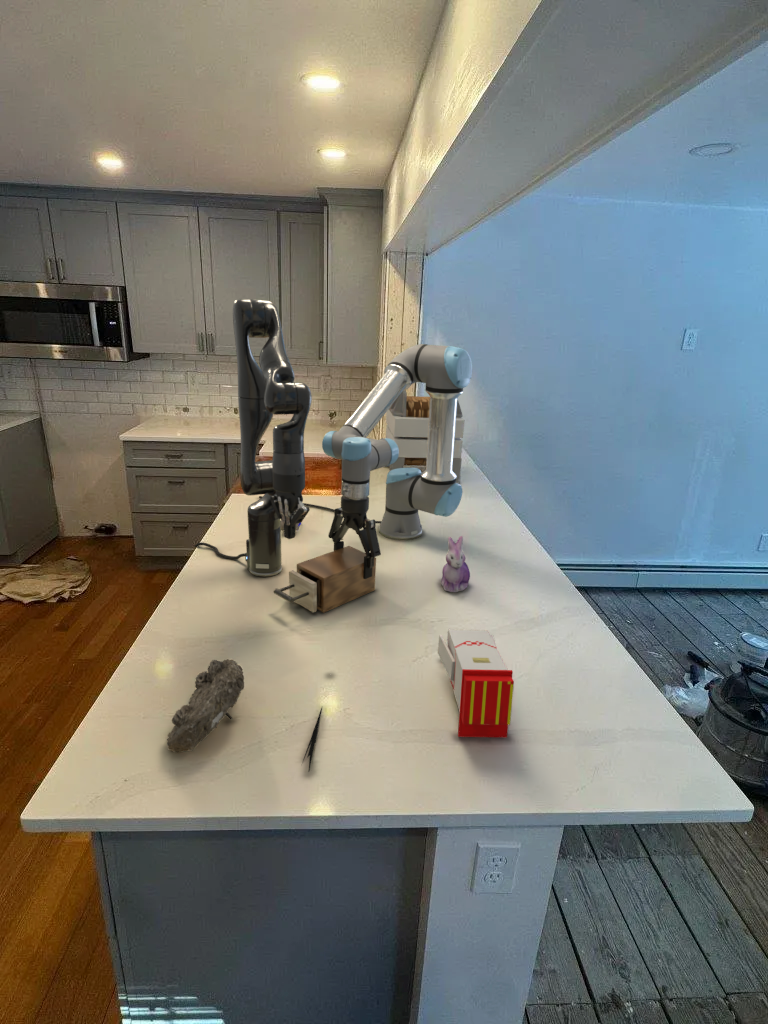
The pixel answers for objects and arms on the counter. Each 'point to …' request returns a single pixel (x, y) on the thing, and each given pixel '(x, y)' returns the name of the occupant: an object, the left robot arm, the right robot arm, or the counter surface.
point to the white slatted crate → (417, 432)
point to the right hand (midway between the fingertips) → (352, 570)
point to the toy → (478, 682)
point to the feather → (313, 740)
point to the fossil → (206, 705)
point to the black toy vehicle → (283, 525)
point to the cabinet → (340, 576)
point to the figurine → (455, 568)
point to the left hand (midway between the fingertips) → (289, 537)
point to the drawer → (302, 590)
